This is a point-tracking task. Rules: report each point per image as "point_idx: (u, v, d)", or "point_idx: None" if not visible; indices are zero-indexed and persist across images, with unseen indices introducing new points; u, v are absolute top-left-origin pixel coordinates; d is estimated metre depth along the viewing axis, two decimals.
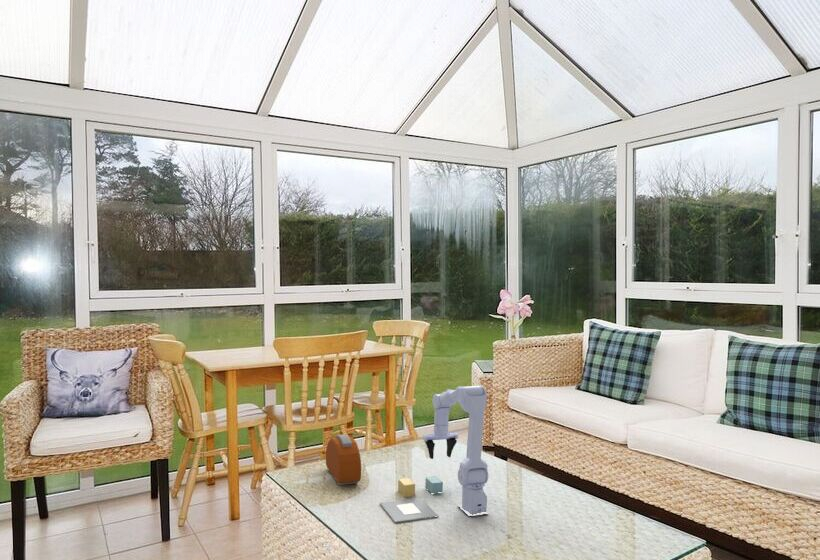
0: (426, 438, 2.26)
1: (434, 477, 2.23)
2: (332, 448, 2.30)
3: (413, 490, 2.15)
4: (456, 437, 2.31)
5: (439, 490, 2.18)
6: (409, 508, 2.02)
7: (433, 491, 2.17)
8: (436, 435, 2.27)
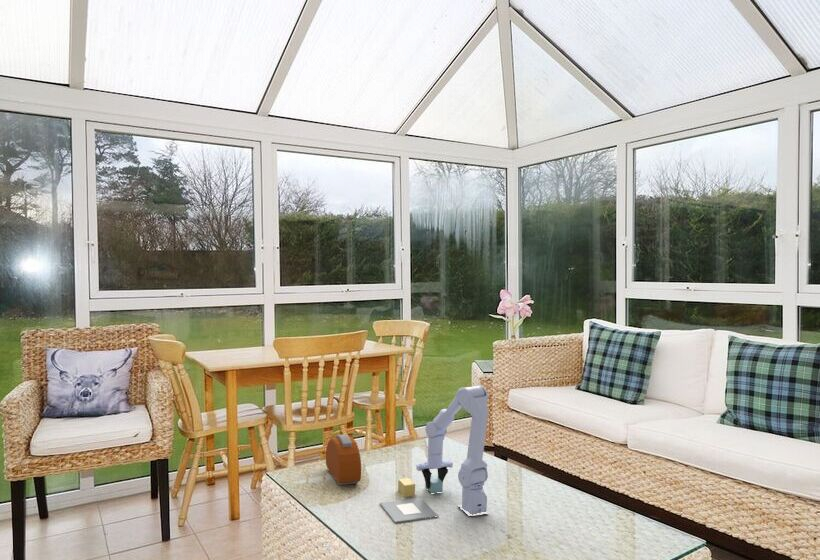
0: (419, 467, 2.17)
1: (434, 477, 2.23)
2: (332, 448, 2.30)
3: (413, 490, 2.15)
4: (451, 466, 2.22)
5: (439, 490, 2.18)
6: (409, 508, 2.02)
7: (433, 491, 2.17)
8: (429, 464, 2.18)
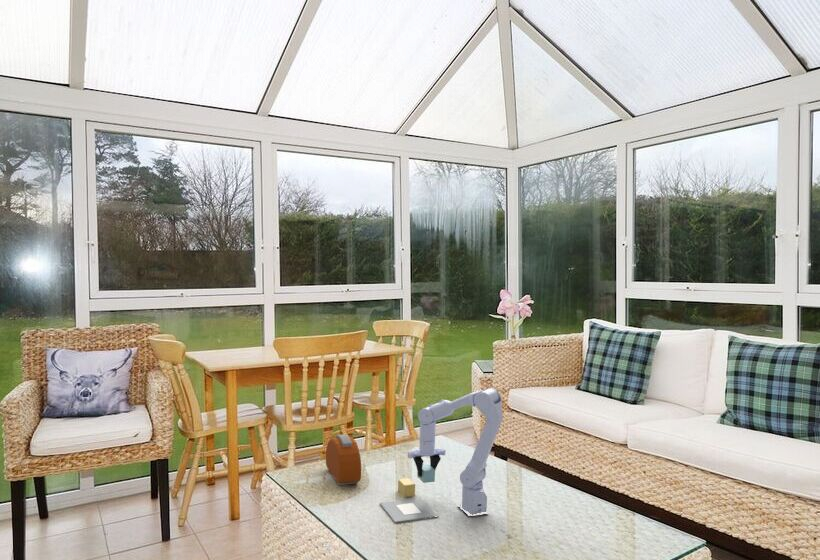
0: (411, 455, 2.10)
1: (426, 465, 2.16)
2: (332, 448, 2.30)
3: (413, 490, 2.15)
4: (443, 453, 2.15)
5: (431, 478, 2.11)
6: (409, 508, 2.02)
7: (425, 479, 2.10)
8: (421, 451, 2.11)
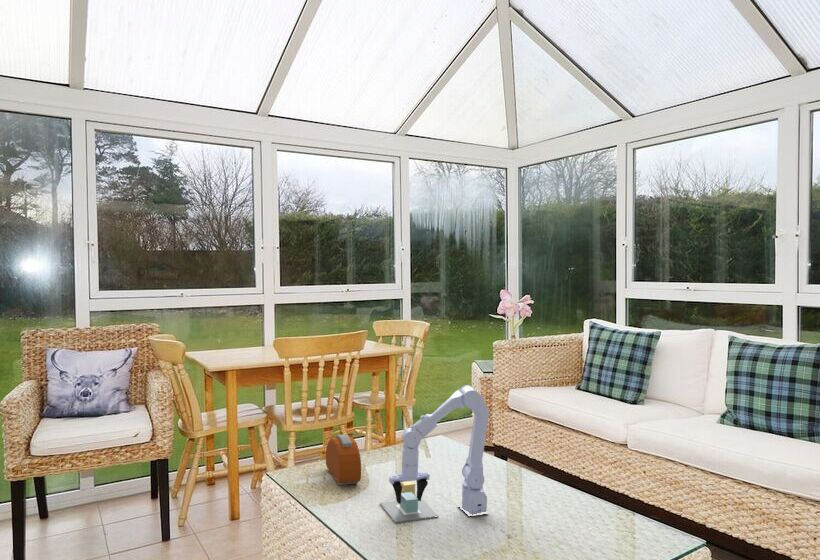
0: (392, 480, 1.98)
1: (409, 493, 2.04)
2: (332, 448, 2.30)
3: (413, 490, 2.15)
4: (427, 478, 2.03)
5: (414, 508, 1.99)
6: None
7: (407, 509, 1.98)
8: (404, 476, 1.99)
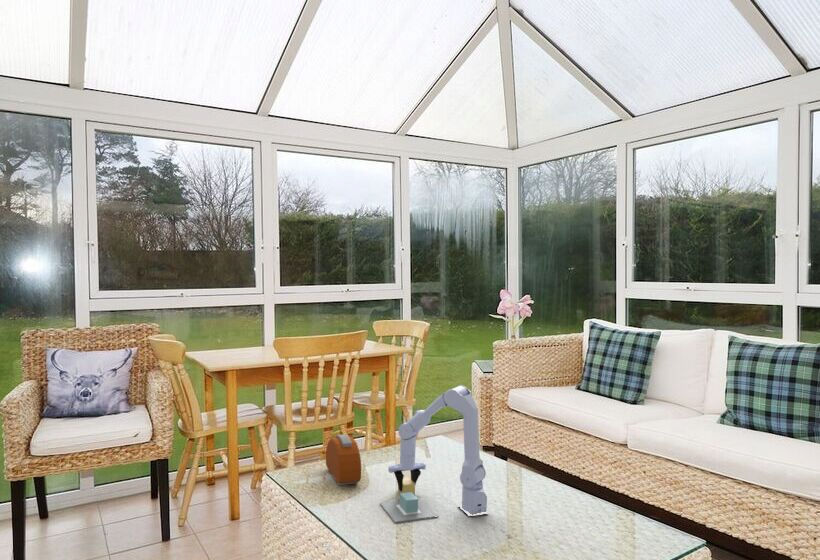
0: (391, 469, 2.14)
1: (409, 493, 2.04)
2: (332, 448, 2.30)
3: (413, 490, 2.15)
4: (424, 468, 2.19)
5: (414, 508, 1.99)
6: None
7: (407, 509, 1.98)
8: (402, 466, 2.15)
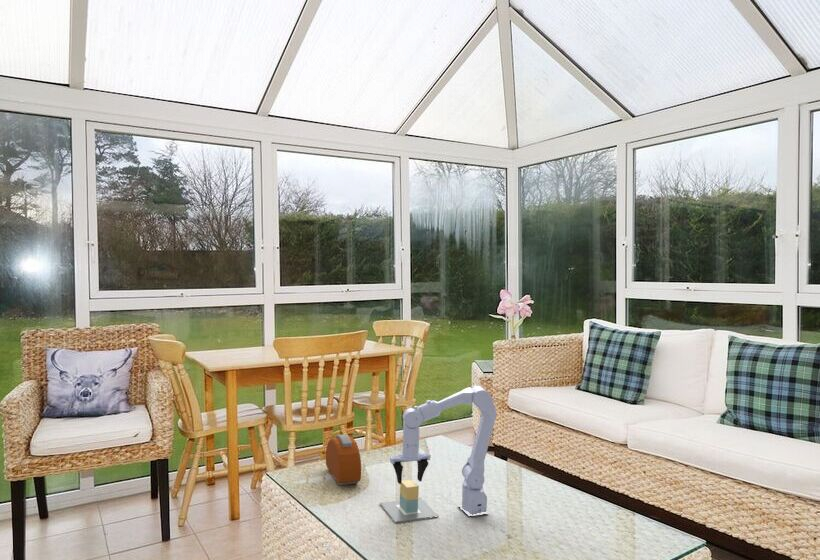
0: (393, 460, 1.98)
1: None
2: (332, 448, 2.30)
3: (416, 493, 1.99)
4: (428, 458, 2.03)
5: (414, 508, 1.99)
6: None
7: (407, 509, 1.98)
8: (404, 456, 1.99)
